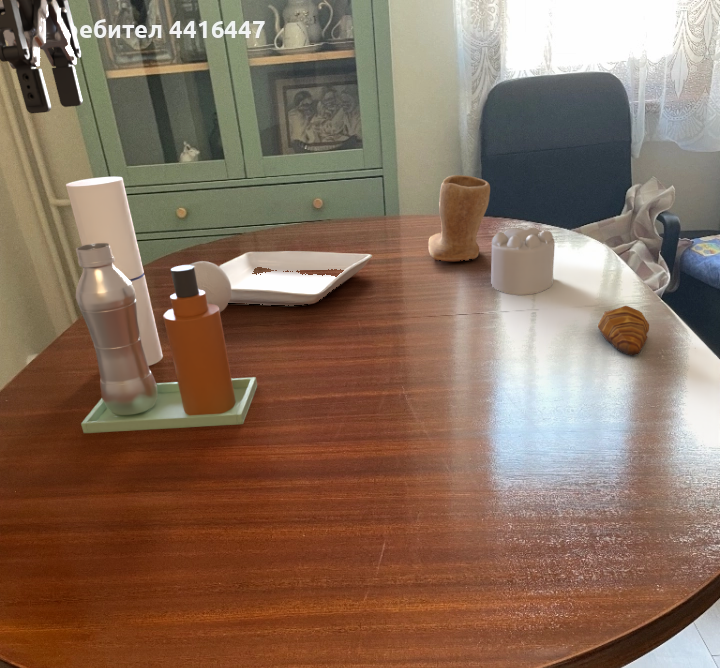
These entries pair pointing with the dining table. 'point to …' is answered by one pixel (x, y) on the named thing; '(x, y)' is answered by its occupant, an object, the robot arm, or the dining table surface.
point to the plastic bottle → (114, 332)
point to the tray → (171, 411)
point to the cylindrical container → (116, 244)
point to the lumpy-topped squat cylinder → (522, 261)
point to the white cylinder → (213, 283)
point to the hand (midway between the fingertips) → (57, 109)
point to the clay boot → (459, 218)
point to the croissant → (625, 329)
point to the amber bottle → (198, 347)
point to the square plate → (288, 276)
